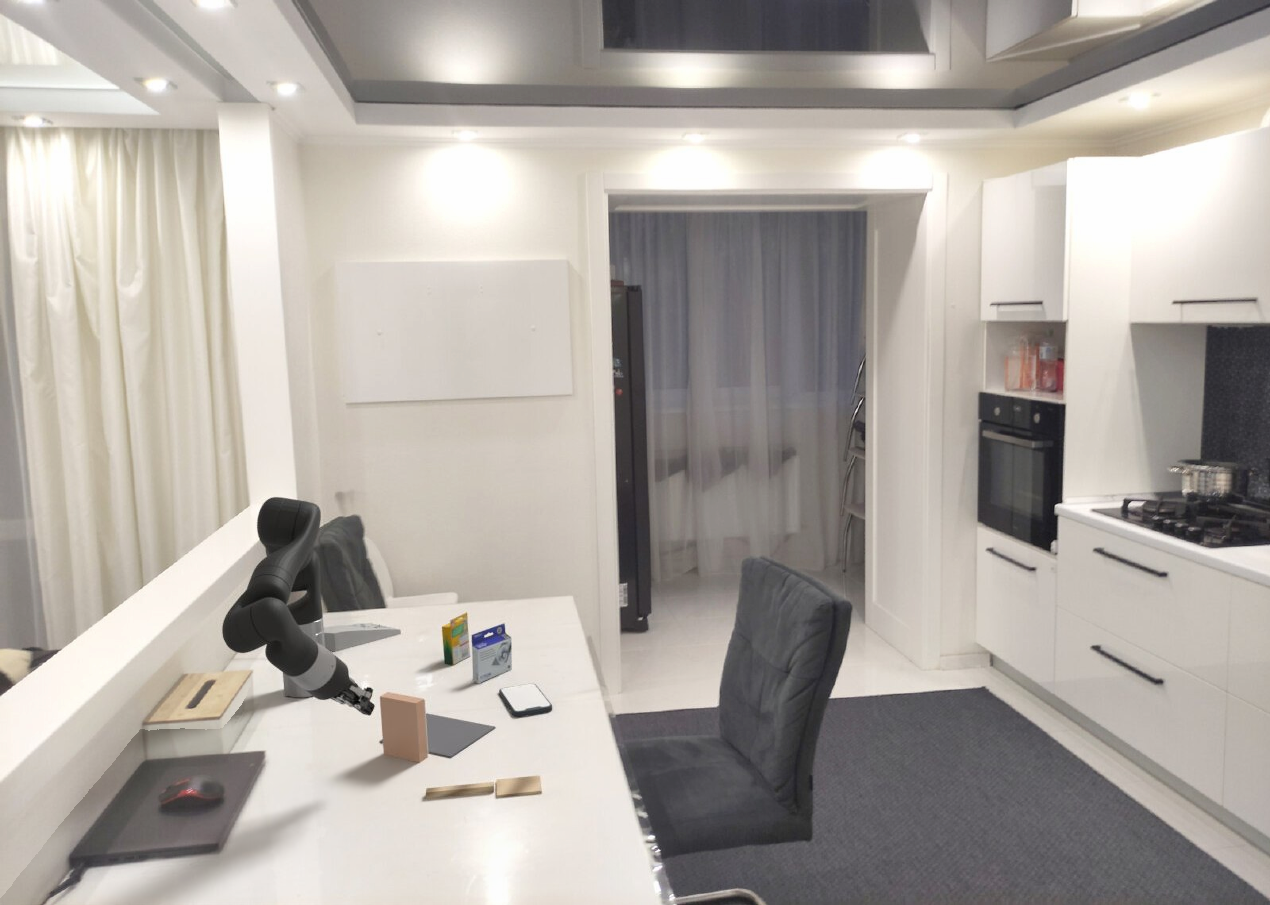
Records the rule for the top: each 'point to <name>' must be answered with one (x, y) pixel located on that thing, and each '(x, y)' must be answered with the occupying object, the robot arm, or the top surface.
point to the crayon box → (456, 640)
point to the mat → (452, 734)
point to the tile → (404, 726)
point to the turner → (491, 788)
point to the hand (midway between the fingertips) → (369, 710)
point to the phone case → (525, 700)
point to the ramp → (355, 635)
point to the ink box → (491, 653)
